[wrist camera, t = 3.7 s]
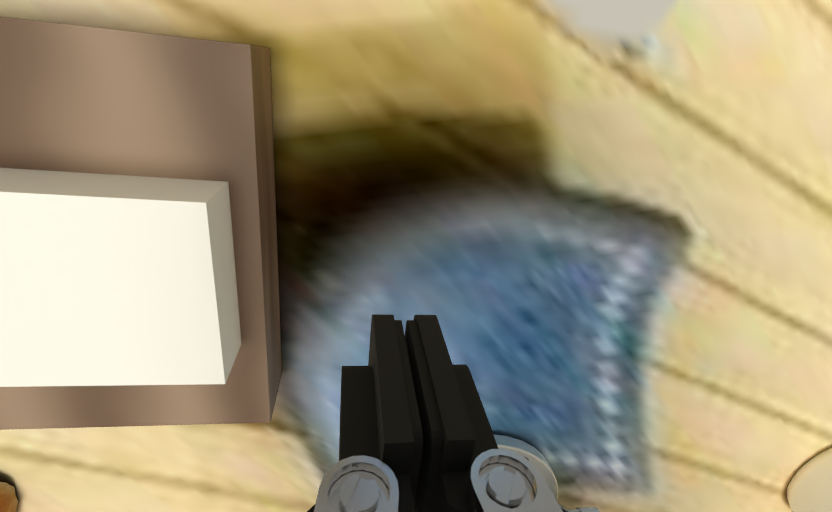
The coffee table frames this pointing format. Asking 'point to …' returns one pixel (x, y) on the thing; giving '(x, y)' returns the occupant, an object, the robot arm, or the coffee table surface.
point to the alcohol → (812, 485)
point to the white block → (115, 280)
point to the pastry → (7, 498)
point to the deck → (152, 157)
